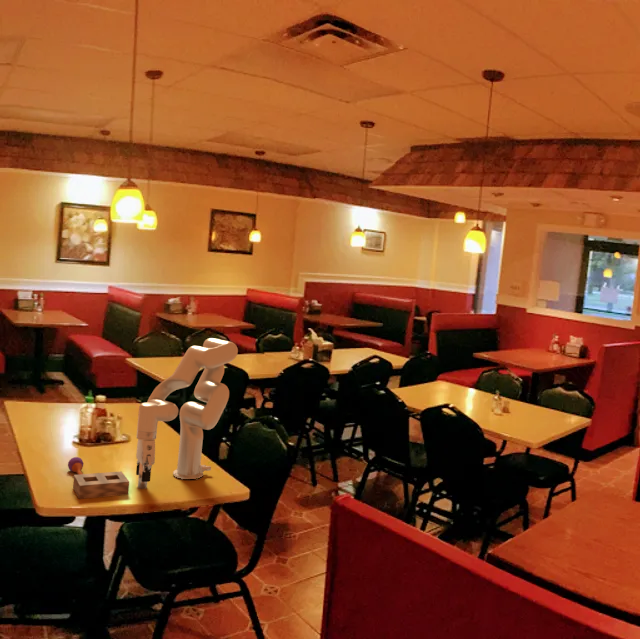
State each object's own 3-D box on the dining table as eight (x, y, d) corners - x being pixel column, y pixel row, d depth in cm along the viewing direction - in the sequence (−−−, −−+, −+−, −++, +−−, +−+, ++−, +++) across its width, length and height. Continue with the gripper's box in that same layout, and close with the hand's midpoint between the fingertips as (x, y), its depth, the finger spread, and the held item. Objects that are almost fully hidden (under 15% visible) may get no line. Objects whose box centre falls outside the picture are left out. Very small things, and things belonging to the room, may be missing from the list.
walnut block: (120, 483, 258) (121, 471, 257) (128, 494, 247) (129, 481, 247) (73, 487, 248) (73, 474, 248) (78, 498, 238) (79, 485, 238)
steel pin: (145, 485, 258) (147, 461, 258) (147, 488, 255) (149, 463, 255) (136, 486, 257) (138, 461, 256) (139, 489, 254) (141, 464, 253)
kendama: (74, 476, 250) (65, 456, 267) (76, 490, 251) (67, 470, 268) (90, 472, 253) (81, 453, 269) (92, 486, 254) (82, 466, 271)
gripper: (162, 440, 249) (158, 484, 250) (149, 428, 264) (146, 470, 265) (143, 441, 245) (139, 486, 246) (131, 428, 260) (127, 471, 261)
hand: (142, 477), depth 256 cm, fingers open, 7 cm apart
